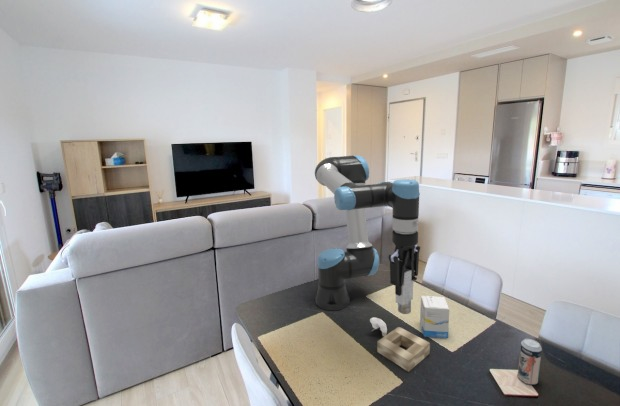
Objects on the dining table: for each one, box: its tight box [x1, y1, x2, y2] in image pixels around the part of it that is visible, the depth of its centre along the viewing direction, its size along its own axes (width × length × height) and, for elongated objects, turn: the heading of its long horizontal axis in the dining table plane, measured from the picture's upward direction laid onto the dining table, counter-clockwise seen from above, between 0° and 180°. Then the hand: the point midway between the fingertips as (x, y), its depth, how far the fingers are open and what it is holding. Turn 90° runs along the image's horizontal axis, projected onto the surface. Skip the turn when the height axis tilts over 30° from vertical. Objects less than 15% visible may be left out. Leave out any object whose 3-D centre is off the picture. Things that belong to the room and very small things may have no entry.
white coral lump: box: [369, 317, 388, 338], centre depth 111 cm, size 8×7×6 cm
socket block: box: [376, 326, 431, 373], centre depth 99 cm, size 12×12×4 cm
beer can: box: [517, 338, 543, 385], centre depth 85 cm, size 5×5×12 cm
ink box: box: [419, 295, 450, 339], centre depth 109 cm, size 9×8×12 cm
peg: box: [397, 268, 412, 315], centre depth 95 cm, size 4×4×14 cm
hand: (404, 300), depth 96 cm, fingers closed on peg, 4 cm apart
